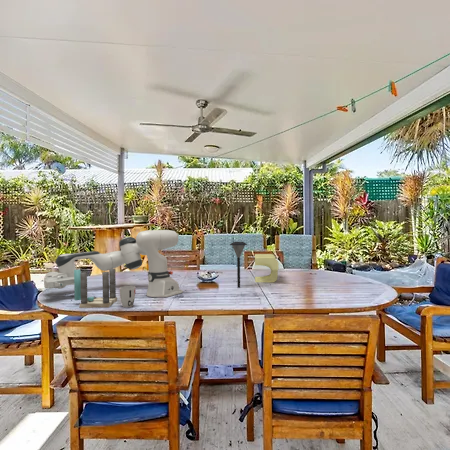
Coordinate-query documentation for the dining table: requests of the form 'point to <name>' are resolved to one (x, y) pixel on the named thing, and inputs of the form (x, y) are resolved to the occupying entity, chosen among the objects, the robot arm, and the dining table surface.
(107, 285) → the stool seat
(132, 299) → the cup
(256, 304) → the dining table surface
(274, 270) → the yellow curved hook shape
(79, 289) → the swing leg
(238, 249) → the solar garden light
